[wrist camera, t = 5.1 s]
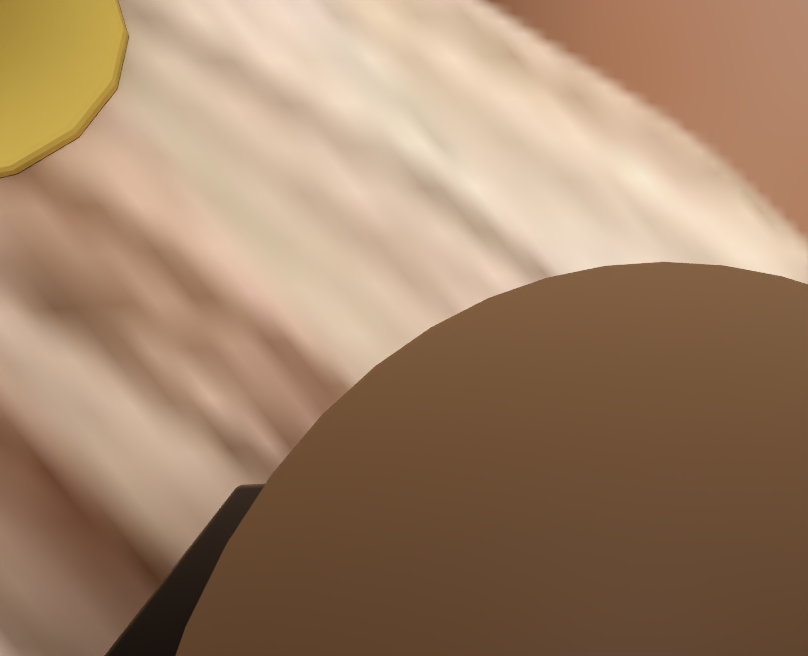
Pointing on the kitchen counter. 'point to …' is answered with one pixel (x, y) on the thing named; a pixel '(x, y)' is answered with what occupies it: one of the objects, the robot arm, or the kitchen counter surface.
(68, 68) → the candle
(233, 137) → the kitchen counter surface
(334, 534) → the walnut peg
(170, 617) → the robot arm
